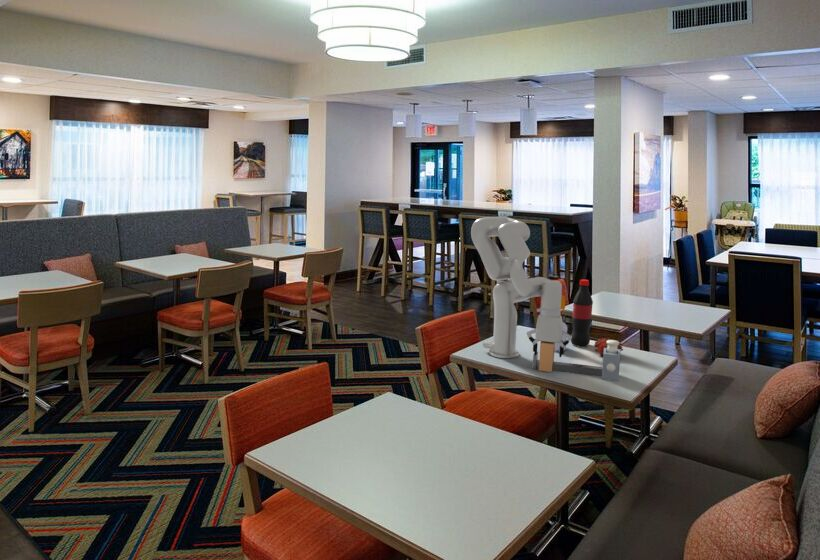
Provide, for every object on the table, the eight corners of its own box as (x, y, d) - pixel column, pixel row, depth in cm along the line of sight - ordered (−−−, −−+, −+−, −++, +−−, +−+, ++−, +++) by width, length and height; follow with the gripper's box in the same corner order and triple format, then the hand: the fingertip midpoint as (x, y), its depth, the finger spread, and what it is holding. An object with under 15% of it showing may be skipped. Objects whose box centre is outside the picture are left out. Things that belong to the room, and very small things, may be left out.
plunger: (605, 355, 224) (606, 342, 223) (605, 351, 228) (606, 339, 227) (618, 356, 223) (619, 343, 222) (618, 353, 227) (619, 340, 226)
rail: (532, 369, 234) (533, 354, 233) (534, 365, 238) (534, 351, 237) (604, 378, 225) (605, 362, 224) (604, 373, 230) (605, 359, 229)
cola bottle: (587, 342, 271) (592, 278, 266) (591, 348, 263) (596, 281, 257) (568, 341, 272) (573, 277, 266) (571, 347, 264) (576, 281, 258)
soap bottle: (541, 348, 261) (544, 294, 257) (550, 343, 268) (553, 290, 264) (560, 352, 256) (564, 297, 251) (569, 347, 263) (572, 293, 258)
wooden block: (538, 370, 232) (540, 343, 230) (540, 364, 238) (542, 338, 236) (551, 371, 230) (553, 344, 228) (553, 366, 237) (555, 339, 235)
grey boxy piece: (601, 379, 224) (603, 354, 222) (601, 372, 232) (603, 347, 230) (618, 381, 222) (620, 355, 220) (618, 374, 230) (620, 349, 228)
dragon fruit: (590, 356, 256) (619, 364, 252) (592, 350, 248) (621, 358, 245) (595, 338, 259) (623, 346, 255) (596, 332, 251) (626, 339, 248)
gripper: (526, 312, 229) (524, 355, 232) (572, 316, 224) (570, 360, 227) (529, 308, 236) (527, 349, 239) (574, 312, 231) (571, 354, 234)
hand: (548, 354), depth 233 cm, fingers open, 9 cm apart
